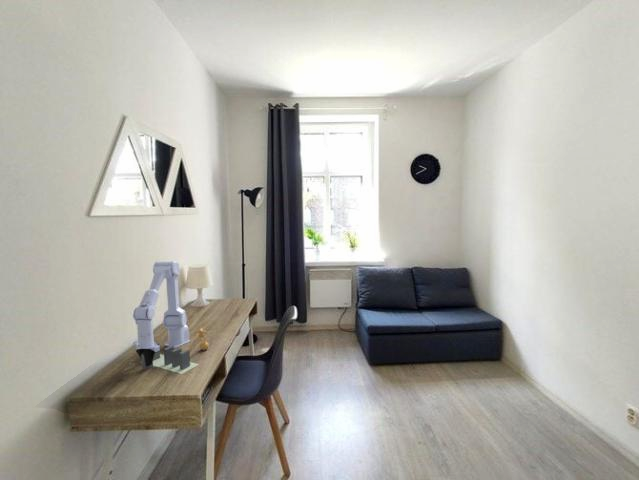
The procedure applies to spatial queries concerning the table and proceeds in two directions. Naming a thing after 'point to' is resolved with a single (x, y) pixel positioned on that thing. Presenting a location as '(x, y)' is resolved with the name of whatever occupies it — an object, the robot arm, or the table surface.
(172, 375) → the table surface
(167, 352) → the tile
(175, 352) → the dark grey block
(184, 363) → the tile
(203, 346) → the figurine
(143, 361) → the tile
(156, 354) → the tile
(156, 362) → the felt strip
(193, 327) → the table surface
